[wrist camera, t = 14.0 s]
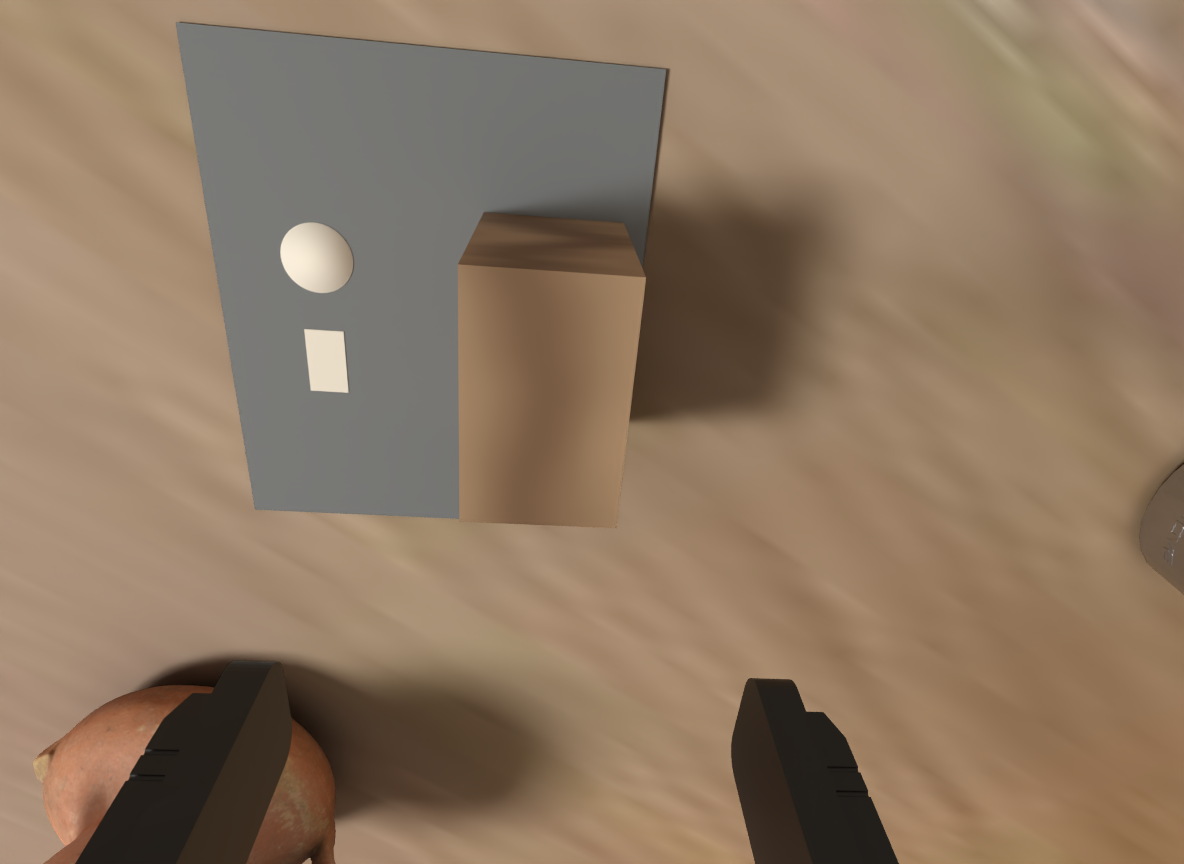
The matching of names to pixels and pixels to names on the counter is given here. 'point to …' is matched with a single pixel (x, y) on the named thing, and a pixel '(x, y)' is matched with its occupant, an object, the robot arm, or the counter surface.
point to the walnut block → (546, 369)
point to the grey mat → (384, 235)
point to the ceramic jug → (119, 737)
